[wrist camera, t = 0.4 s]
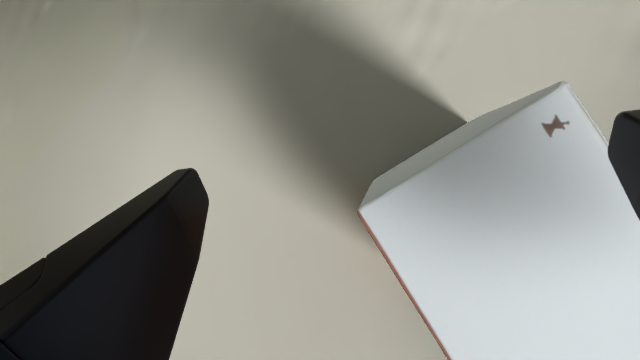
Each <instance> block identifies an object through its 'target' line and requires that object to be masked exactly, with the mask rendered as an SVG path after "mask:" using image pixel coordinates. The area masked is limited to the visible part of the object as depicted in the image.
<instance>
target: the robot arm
mask: <svg viewBox="0 0 640 360" xmlns="http://www.w3.org/2000/svg"><path fill="white" fill-rule="evenodd" d="M608 158H609V160H610V163H611V165H612V167H613V169H614V171H615V173H616V175H617V177H618V179H619V181H620V183H621V185H622V187H623V189H624V191H625V193H626V195H627V197H628V199H629V201H630V203H631V205H632V207H633V209H634V211H635V213H636V215H637V217H638V219H639V220H640V109H639V110H632V111H624V112H621V113H619V114H618V115H617V116H616V118H615V120H614V124H613V128H612V132H611V137H610V141H609V145H608ZM208 206H209V199H208V195H207V193H206V190H205V188H204V186H203V184H202V182H201V179H200V177H199V175H198V173H197V171H196V170H195V169H193V168H187V169H180V170H176V171H174V172H173V173H171V174H170V175H168V176H167V177H165V178H164V179H162V180H161V181H159V182H158V183H156V184H155V185H153V186H151V187H150V188H148V189H147V190H145V191H144V192H142V193H141V194H139V195H138V196H136V197H135V198H133V199H132V200H130V201H129V202H127V203H126V204H124V205H123V206H121V207H120V208H118V209H116V210H115V211H113V212H112V213H110V214H109V215H107V216H106V217H104V218H103V219H101V220H100V221H98V222H97V223H95V224H94V225H92V226H91V227H89V228H88V229H86V230H85V231H83V232H82V233H80V234H78V235H77V236H75V237H74V238H72V239H71V240H69V241H68V242H66V243H65V244H63V245H62V246H60V247H59V248H57V249H56V250H54V251H53V252H51V253H50V254H48V255H47V256H46V258H42V259H40V260H39V261H37V262H36V263H34V264H33V265H31V266H30V267H28V268H27V269H25V270H24V271H22V272H20V273H19V274H17V275H16V276H14V277H13V278H11V279H9V280H8V281H6V282H5V283H3V284H2V285H0V360H169V358H170V355H171V351H172V348H173V345H174V341H175V338H176V334H177V331H178V328H179V324H180V321H181V318H182V314H183V311H184V308H185V304H186V301H187V298H188V294H189V291H190V288H191V284H192V281H193V278H194V274H195V271H196V268H197V264H198V260H199V256H200V252H201V246H202V241H203V235H204V229H205V223H206V218H207V212H208Z"/></svg>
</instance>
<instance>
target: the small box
mask: <svg viewBox="0 0 640 360" xmlns="http://www.w3.org/2000/svg"><path fill="white" fill-rule="evenodd" d="M608 145H609V143H608V141H607V140H606V138H605V137H604V135H603V134H602V132H601V131H600V129H599V128H598V126H597V125H596V124H595V122H594V121H593V119H592V118H591V117H590V115H589V114H588V112H587V110H586V109H585V107H584V106H583V104H582V103H581V101H580V100H579V98H578V97H577V95H576V94H575V92H574V91H573V89H572V88H571V87H570V86H569V84H568V83H566V82H565V81H562V82H559V83H556V84H554V85H552V86H550V87H548V88H545V89H543V90H540V91H538V92H536V93H533V94H531V95H529V96H527V97H524V98H522V99H520V100H518V101H515V102H513V103H511V104H508V105H506V106H504V107H501V108H499V109H496V110H494V111H491V112H489V113H486V114H484V115H482V116H480V117H478V118H476V119H474V120H472V121H470V122H468V123H466V124H464V125H463V126H461V127H459V128H458V129H456V130H454V131H453V132H451V133H449V134H448V135H446V136H444V137H443V138H441V139H439V140H438V141H436V142H434V143H433V144H431V145H429V146H428V147H426V148H424V149H423V150H421V151H420V152H418V153H416V154H415V155H413V156H411V157H410V158H408V159H407V160H405V161H403V162H402V163H400V164H398V165H397V166H395V167H393V168H392V169H390V170H388V171H387V172H385V173H384V174H382V175H380V176H379V177H377V178H376V179H374V180H373V182H372V184H371V185H370V187H369V189H368V191H367V193H366V195H365V197H364V198H363V200H362V202H361V204H360V206H359V208H358V211H357V213H358V215H359V217H360V218H361V220H362V222H363V224H364V225H365V227H366V228H367V230H368V232H369V233H370V235H371V237H372V238H373V240H374V241H375V243H376V245H377V246H378V248H379V250H380V251H381V253H382V254H383V256H384V258H385V259H386V261H387V263H388V264H389V266H390V267H391V269H392V271H393V272H394V274H395V275H396V277H397V279H398V280H399V282H400V284H401V285H402V287H403V288H404V290H405V292H406V293H407V295H408V296H409V298H410V300H411V301H412V303H413V304H414V306H415V307H416V309H417V311H418V312H419V314H420V315H421V317H422V319H423V320H424V322H425V323H426V325H427V327H428V328H429V330H430V331H431V333H432V334H433V336H434V338H435V339H436V341H437V343H438V344H439V346H440V348H441V349H442V351H443V352H444V354H445V356H446V357H447V359H448V360H640V220H639V219H638V217H637V215H636V213H635V211H634V209H633V207H632V205H631V203H630V201H629V199H628V197H627V195H626V193H625V191H624V189H623V187H622V185H621V183H620V181H619V179H618V177H617V175H616V173H615V171H614V169H613V167H612V165H611V163H610V160H609V158H608Z"/></svg>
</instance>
